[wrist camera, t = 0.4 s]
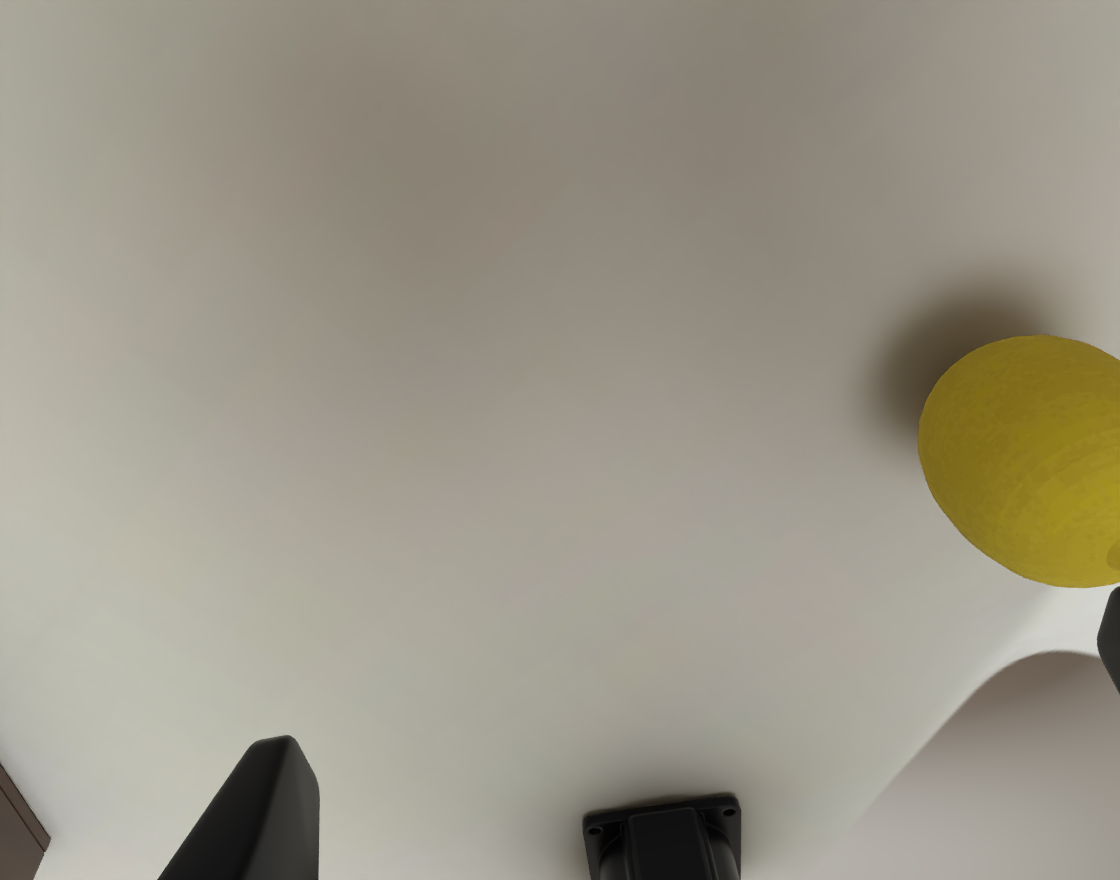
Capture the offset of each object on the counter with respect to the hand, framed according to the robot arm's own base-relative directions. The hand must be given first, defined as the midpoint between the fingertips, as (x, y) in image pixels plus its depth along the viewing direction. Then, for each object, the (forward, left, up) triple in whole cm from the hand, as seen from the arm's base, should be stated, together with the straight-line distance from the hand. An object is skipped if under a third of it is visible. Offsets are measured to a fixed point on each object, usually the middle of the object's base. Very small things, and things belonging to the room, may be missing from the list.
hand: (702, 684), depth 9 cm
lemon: (-6, -11, -15) cm, 19 cm away
